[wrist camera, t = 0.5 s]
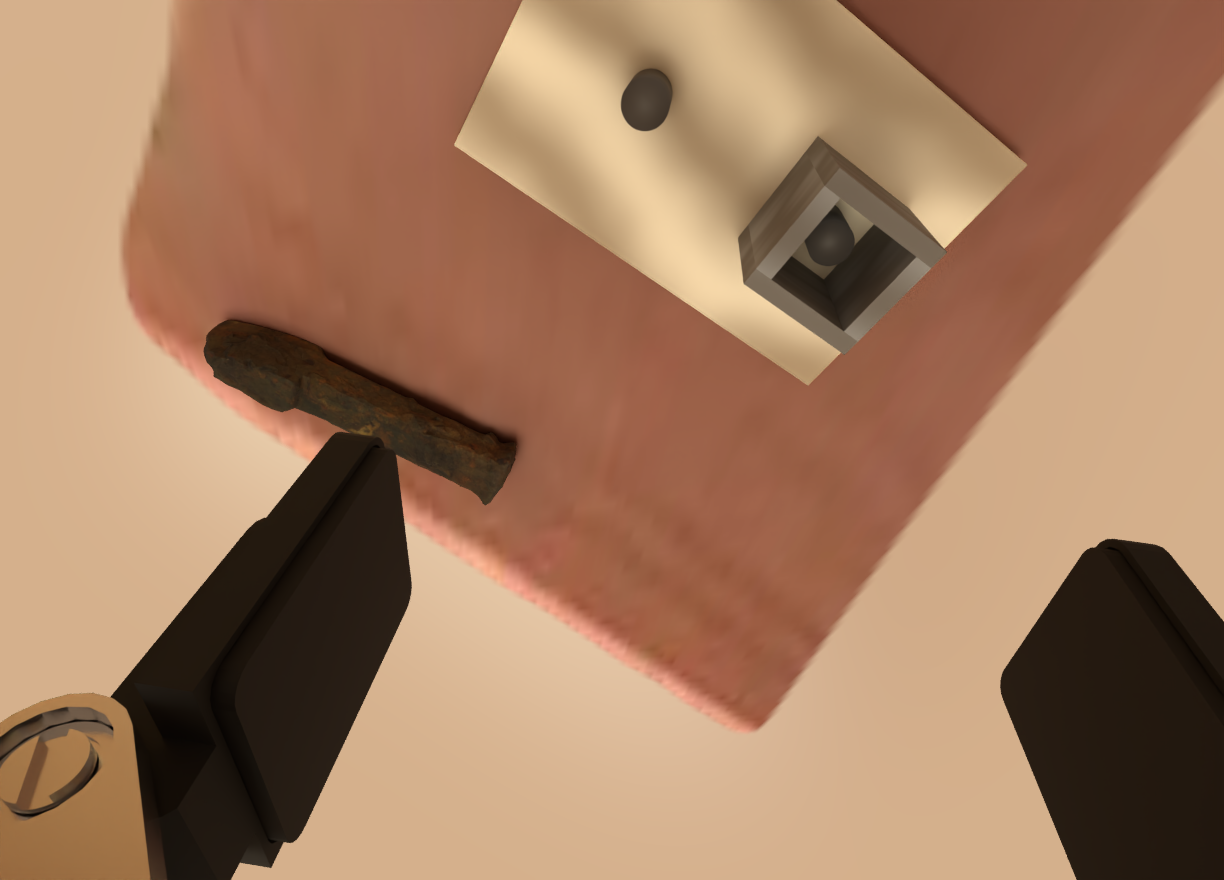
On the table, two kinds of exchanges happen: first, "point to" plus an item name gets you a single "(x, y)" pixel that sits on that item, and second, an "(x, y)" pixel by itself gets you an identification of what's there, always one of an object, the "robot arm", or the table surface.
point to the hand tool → (354, 404)
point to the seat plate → (740, 157)
